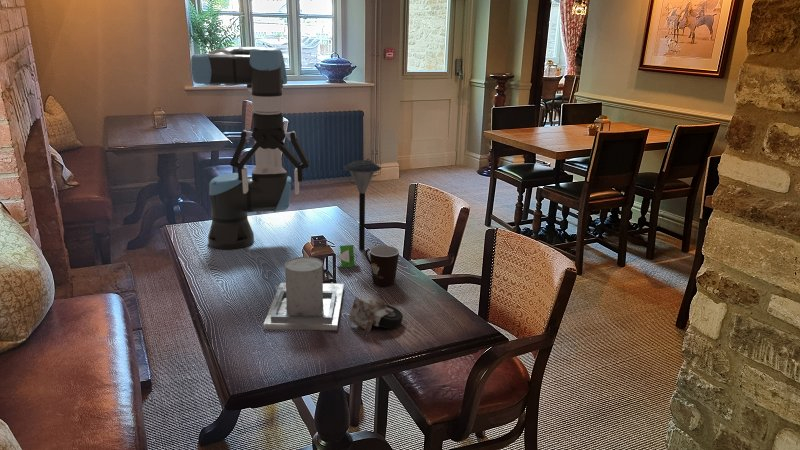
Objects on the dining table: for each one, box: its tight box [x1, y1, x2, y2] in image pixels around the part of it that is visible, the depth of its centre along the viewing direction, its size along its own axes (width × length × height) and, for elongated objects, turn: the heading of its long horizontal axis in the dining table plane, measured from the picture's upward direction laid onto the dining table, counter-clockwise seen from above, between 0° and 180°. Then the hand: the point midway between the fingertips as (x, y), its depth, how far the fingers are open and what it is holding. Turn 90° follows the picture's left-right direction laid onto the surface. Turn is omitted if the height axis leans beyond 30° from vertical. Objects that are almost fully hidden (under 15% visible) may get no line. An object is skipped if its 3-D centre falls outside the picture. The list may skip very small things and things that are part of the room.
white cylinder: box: [284, 256, 324, 315], centre depth 147 cm, size 10×10×12 cm
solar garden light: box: [343, 160, 382, 251], centre depth 188 cm, size 12×12×30 cm
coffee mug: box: [364, 245, 400, 288], centre depth 168 cm, size 12×9×10 cm
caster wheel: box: [348, 297, 404, 332], centre depth 144 cm, size 7×11×10 cm
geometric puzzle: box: [335, 244, 360, 268], centre depth 179 cm, size 7×7×8 cm
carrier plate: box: [263, 282, 345, 331], centre depth 151 cm, size 24×18×6 cm
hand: (271, 192), depth 152 cm, fingers open, 13 cm apart
